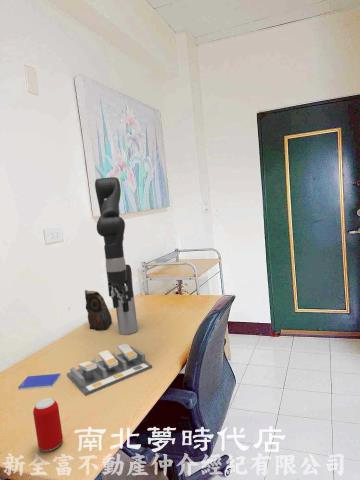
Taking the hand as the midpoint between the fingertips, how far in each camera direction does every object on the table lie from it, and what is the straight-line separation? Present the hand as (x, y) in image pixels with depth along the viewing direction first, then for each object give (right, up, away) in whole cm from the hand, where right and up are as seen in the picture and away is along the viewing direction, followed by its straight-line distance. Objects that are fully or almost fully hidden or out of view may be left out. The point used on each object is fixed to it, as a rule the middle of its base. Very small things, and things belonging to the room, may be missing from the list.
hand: (121, 309), depth 135 cm
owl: (-18, -19, +47) cm, 53 cm away
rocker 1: (-10, -19, -10) cm, 24 cm away
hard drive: (-28, -26, -8) cm, 39 cm away
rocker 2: (+3, -17, -1) cm, 17 cm away
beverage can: (-11, -27, -43) cm, 53 cm away
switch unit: (-3, -22, -5) cm, 23 cm away
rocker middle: (-4, -18, -6) cm, 19 cm away
